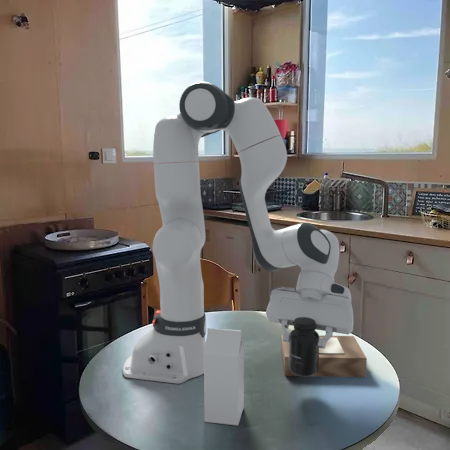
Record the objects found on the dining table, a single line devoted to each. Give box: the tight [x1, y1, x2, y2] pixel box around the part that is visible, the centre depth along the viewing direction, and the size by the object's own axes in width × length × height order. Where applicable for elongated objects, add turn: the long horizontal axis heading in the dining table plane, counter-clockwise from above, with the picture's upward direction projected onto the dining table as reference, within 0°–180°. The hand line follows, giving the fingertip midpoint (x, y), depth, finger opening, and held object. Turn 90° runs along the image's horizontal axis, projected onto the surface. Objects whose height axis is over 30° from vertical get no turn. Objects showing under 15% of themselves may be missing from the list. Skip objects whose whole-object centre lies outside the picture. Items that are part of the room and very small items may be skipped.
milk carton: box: [203, 327, 245, 426], centre depth 95 cm, size 7×7×19 cm
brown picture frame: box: [280, 334, 368, 378], centre depth 120 cm, size 20×14×5 cm
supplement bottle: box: [289, 317, 320, 377], centre depth 104 cm, size 7×7×12 cm
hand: (303, 344), depth 103 cm, fingers closed on supplement bottle, 7 cm apart
